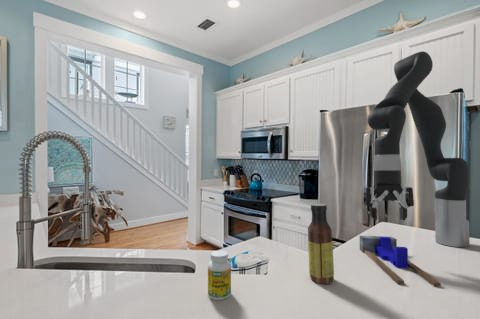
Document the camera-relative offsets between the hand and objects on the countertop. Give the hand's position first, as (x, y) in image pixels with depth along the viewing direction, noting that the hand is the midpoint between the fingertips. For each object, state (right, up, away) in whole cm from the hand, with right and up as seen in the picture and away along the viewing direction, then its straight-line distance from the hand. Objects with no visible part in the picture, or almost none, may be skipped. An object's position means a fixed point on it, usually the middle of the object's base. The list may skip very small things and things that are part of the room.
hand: (388, 219), depth 80 cm
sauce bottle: (-26, -13, -14) cm, 32 cm away
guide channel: (-1, -13, -4) cm, 14 cm away
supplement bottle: (-52, -12, -22) cm, 58 cm away
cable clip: (0, -13, 0) cm, 13 cm away
